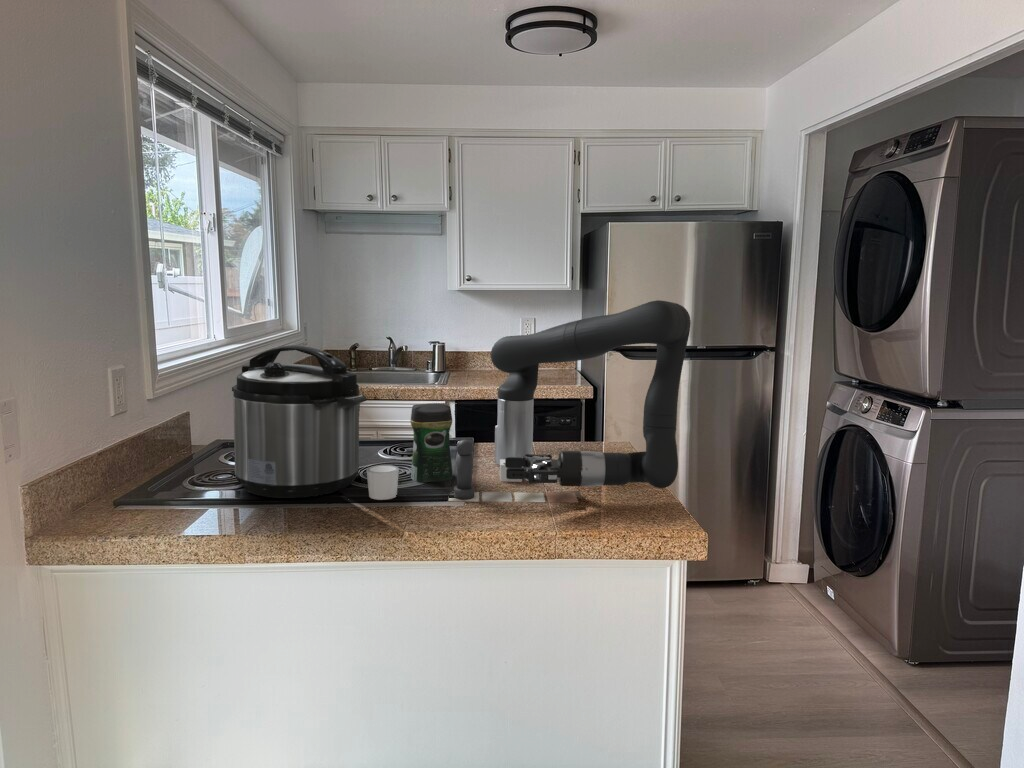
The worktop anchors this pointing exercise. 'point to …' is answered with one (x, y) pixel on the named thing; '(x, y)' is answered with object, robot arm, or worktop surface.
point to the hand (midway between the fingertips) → (505, 467)
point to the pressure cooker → (296, 425)
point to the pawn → (464, 471)
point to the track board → (525, 497)
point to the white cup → (382, 481)
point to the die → (503, 473)
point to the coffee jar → (431, 442)
